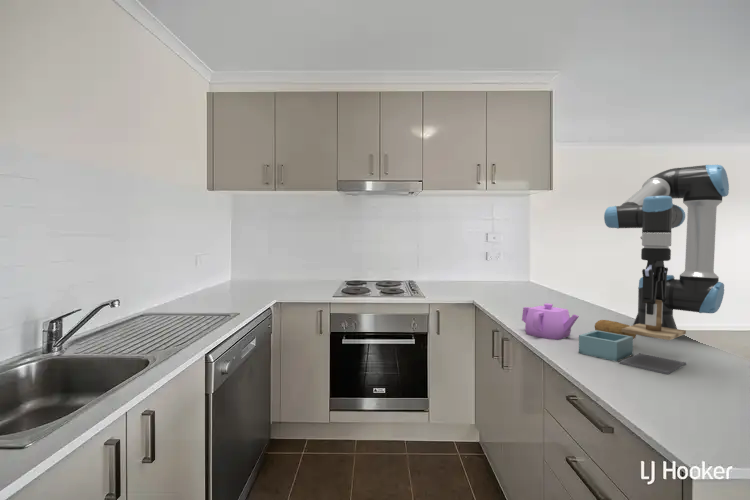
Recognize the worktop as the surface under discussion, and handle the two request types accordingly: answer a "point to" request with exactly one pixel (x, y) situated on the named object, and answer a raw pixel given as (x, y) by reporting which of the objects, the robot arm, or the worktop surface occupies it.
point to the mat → (653, 363)
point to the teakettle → (548, 321)
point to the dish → (606, 345)
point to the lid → (655, 328)
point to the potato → (612, 327)
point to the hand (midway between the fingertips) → (653, 323)
